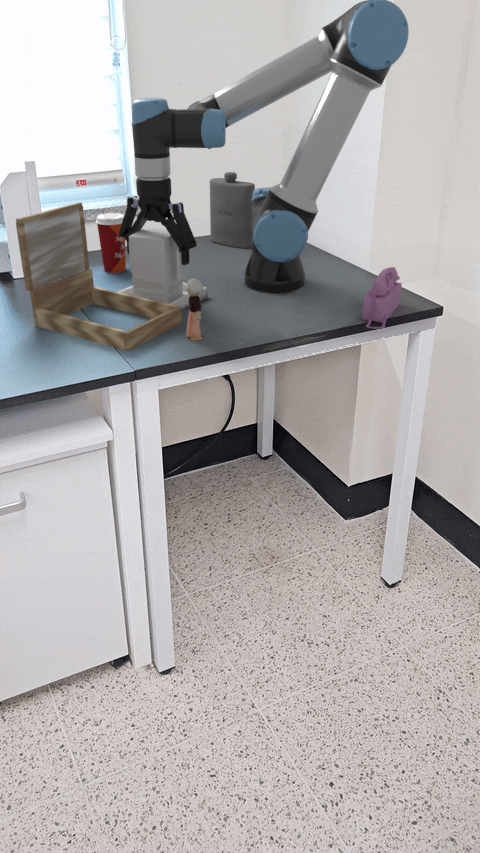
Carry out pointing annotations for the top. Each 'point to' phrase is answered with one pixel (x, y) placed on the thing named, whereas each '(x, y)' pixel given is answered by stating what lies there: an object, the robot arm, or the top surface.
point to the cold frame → (79, 282)
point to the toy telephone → (382, 297)
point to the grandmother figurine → (194, 309)
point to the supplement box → (154, 265)
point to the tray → (179, 301)
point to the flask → (231, 211)
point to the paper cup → (112, 242)
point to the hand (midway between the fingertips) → (158, 273)
